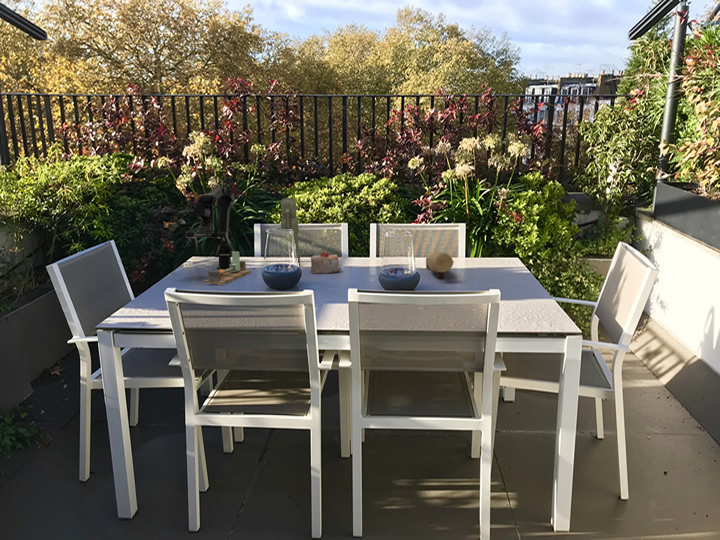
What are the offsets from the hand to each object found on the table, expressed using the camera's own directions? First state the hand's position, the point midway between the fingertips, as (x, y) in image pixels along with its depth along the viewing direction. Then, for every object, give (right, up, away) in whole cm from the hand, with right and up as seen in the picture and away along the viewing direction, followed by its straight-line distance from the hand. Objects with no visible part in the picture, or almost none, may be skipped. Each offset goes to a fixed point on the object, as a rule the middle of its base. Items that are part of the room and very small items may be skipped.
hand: (206, 253), depth 284 cm
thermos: (+37, -6, +26) cm, 46 cm away
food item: (+55, -9, +12) cm, 57 cm away
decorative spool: (+109, -11, 0) cm, 110 cm away
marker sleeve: (+12, -8, +9) cm, 17 cm away
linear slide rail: (+9, -12, +4) cm, 16 cm away
